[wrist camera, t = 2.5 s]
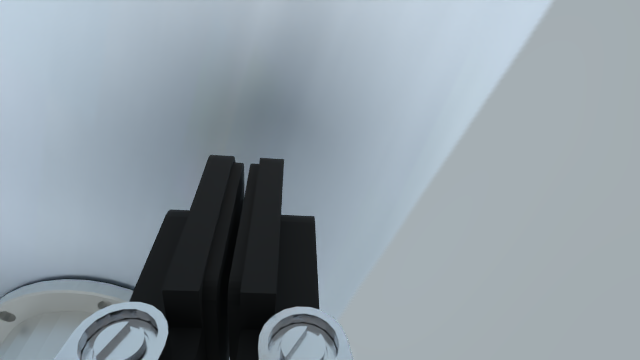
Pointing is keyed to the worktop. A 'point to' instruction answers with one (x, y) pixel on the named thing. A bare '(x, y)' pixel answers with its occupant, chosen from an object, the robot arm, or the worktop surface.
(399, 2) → the worktop surface
